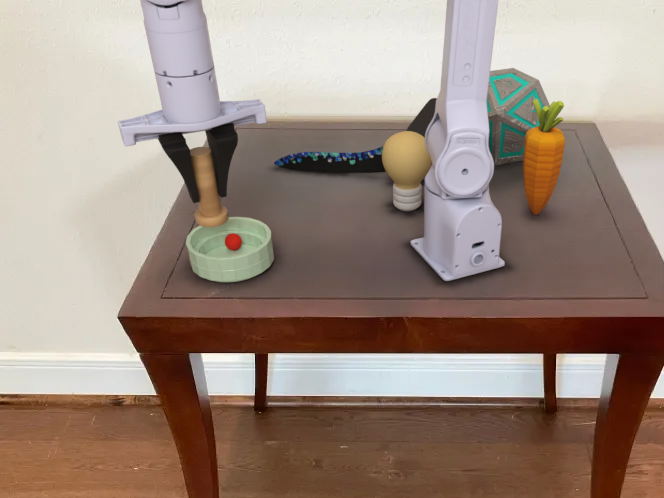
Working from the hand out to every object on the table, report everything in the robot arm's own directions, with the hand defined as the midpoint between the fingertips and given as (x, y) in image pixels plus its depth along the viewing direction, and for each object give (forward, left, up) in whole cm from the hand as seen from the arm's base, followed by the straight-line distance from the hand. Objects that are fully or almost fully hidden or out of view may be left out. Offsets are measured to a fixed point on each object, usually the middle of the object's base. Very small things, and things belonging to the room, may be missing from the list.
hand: (208, 196), depth 80 cm
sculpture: (+24, -54, -9) cm, 59 cm away
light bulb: (+4, -26, -9) cm, 28 cm away
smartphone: (+10, -35, -6) cm, 37 cm away
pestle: (0, 0, -3) cm, 3 cm away
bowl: (0, -1, -9) cm, 9 cm away
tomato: (+2, -2, -7) cm, 8 cm away
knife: (+14, -26, -9) cm, 31 cm away
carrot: (-5, -40, -9) cm, 41 cm away
